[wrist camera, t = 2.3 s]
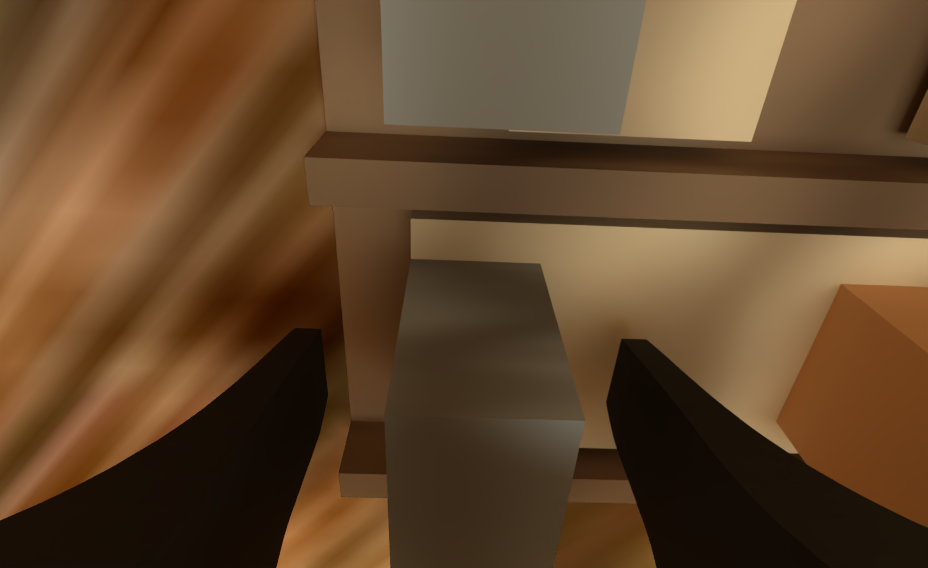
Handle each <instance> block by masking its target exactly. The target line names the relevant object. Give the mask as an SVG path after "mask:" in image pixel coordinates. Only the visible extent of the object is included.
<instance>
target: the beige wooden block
mask: <svg viewBox="0 0 928 568" xmlns="http://www.w3.org/2000/svg"><path fill="white" fill-rule="evenodd" d="M841 284H859V285H887V286H914V287H928V230H912V229H886V228H861V227H836V226H811V225H785V224H760V223H735V222H710V221H684V220H659V219H634V218H608V217H583V216H558V215H533V214H507V213H482V212H457V211H432V210H412V214H411V261H410V267H409V273H408V279H407V285H406V290H405V296H404V302H403V308H402V314H401V320H400V326H399V331H398V337H397V343H396V349H395V355H394V361H393V367H392V373H391V378H390V384H389V390H388V396H387V402H386V408H385V414H384V423H385V446H386V470H387V494H388V518H389V542H390V566H391V568H553V564H554V559H555V555H556V550H557V546H558V541H559V537H560V532H561V528H562V523H563V519H564V515H565V510H566V506H567V501H568V497H569V492H570V488H571V483H572V479H573V474H574V470H575V465H576V461H577V456H578V452H579V448H606V449H617V448H616V445H615V442H614V438H613V434H612V430H611V425H610V421H609V416H608V411H607V406H606V400H607V396H608V391H609V387H610V383H611V379H612V375H613V371H614V367H615V363H616V359H617V355H618V350H619V346H620V342H621V339H647V340H648V341H649V342H650V343H652V344H653V345H654V346H655V347H656V348H657V349H659V350H660V351H661V352H662V353H663V354H664V355H665V356H666V357H668V358H669V359H670V360H671V361H672V362H673V363H674V364H675V365H677V366H678V367H679V368H680V369H681V370H682V371H683V372H684V373H686V374H687V375H688V376H689V377H690V378H691V379H692V380H693V381H695V382H696V383H697V384H698V385H699V386H700V387H702V388H703V389H704V390H705V391H706V392H707V393H709V394H710V395H711V396H712V397H713V398H715V399H716V400H717V401H718V402H720V403H721V404H722V405H723V406H724V407H726V408H727V409H728V410H730V411H731V412H732V413H733V414H735V415H736V416H737V417H739V418H740V419H741V420H742V421H744V422H745V423H746V424H748V425H749V426H750V427H752V428H753V429H754V430H756V431H757V432H759V433H760V434H761V435H763V436H764V437H766V438H767V439H769V440H770V441H772V442H773V443H775V444H776V445H778V446H779V447H781V448H782V449H784V450H785V451H787V452H788V453H798V452H797V450H796V449H795V448H794V446H793V445H792V443H791V442H790V441H789V439H788V438H787V436H786V435H785V434H784V432H783V431H782V429H781V428H780V427H779V425H778V424H777V422H776V420H777V418H778V416H779V414H780V412H781V410H782V408H783V405H784V403H785V401H786V399H787V397H788V395H789V393H790V391H791V389H792V386H793V384H794V382H795V380H796V378H797V376H798V374H799V372H800V370H801V367H802V365H803V363H804V361H805V359H806V357H807V355H808V353H809V351H810V349H811V346H812V344H813V342H814V340H815V338H816V336H817V334H818V332H819V330H820V327H821V325H822V323H823V321H824V319H825V317H826V315H827V313H828V311H829V308H830V306H831V304H832V302H833V300H834V298H835V296H836V294H837V292H838V289H839V287H840V285H841Z"/></svg>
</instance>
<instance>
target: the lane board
mask: <svg viewBox="0 0 928 568" xmlns="http://www.w3.org/2000/svg"><path fill="white" fill-rule="evenodd" d="M315 4H316V16H317V27H318V39H319V51H320V62H321V74H322V86H323V97H324V109H325V121H326V132H325V133H324V134H323V136H322V137H321V138H320V139H319V140H318V141H317V143H316V144H315V145H314V146H313V147H312V148H311V149H310V151H309V152H308V153H307V154H306V155H305V156H304V163H305V172H306V181H307V191H308V200H309V206H331V207H333V214H334V226H335V237H336V249H337V261H338V272H339V284H340V296H341V307H342V319H343V331H344V342H345V354H346V366H347V377H348V389H349V401H350V412H351V424H350V428H349V433H348V437H347V441H346V445H345V449H344V453H343V457H342V461H341V466H340V470H339V482H340V491H341V497H367V498H388V494H387V470H386V446H385V423H384V414H385V408H386V402H387V396H388V390H389V384H390V378H391V373H392V367H393V361H394V355H395V349H396V343H397V337H398V331H399V326H400V320H401V314H402V308H403V302H404V296H405V290H406V285H407V279H408V273H409V267H410V261H411V214H412V210H432V211H457V212H482V213H507V214H533V215H558V216H583V217H608V218H634V219H659V220H684V221H710V222H735V223H760V224H785V225H811V226H836V227H861V228H886V229H912V230H928V0H315ZM790 454H791V455H793V456H794V457H796V458H797V459H799V460H801V461H802V462H804V460H803V459H802V457H801V456H800V455H799V453H790ZM804 463H805V462H804ZM805 464H806V463H805ZM567 502H587V503H631V504H637V503H636V500H635V497H634V495H633V492H632V489H631V487H630V484H629V481H628V478H627V476H626V473H625V470H624V467H623V465H622V462H621V459H620V456H619V453H618V450H617V449H606V448H579V452H578V456H577V461H576V465H575V470H574V474H573V479H572V483H571V488H570V492H569V497H568V501H567Z"/></svg>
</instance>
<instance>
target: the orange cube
mask: <svg viewBox="0 0 928 568" xmlns="http://www.w3.org/2000/svg"><path fill="white" fill-rule="evenodd" d="M776 422H777V424H778V425H779V427H780V428H781V429H782V431H783V432H784V434H785V435H786V436H787V438H788V439H789V441H790V442H791V443H792V445H793V446H794V448H795V449H796V450H797V452H798V453H799V455H800V456H801V457H802V459H803V460H804V462H805V463H806V464H807V465H809V466H810V467H812V468H814V469H816V470H817V471H819V472H821V473H822V474H824V475H826V476H828V477H829V478H831V479H833V480H834V481H836V482H838V483H840V484H841V485H843V486H845V487H847V488H849V489H851V490H852V491H854V492H856V493H858V494H860V495H862V496H864V497H865V498H867V499H869V500H871V501H873V502H875V503H877V504H879V505H881V506H883V507H885V508H887V509H889V510H891V511H893V512H895V513H897V514H899V515H901V516H903V517H905V518H907V519H910V520H912V521H914V522H916V523H918V524H921V525H923V526H925V527H927V528H928V287H914V286H887V285H859V284H841V285H840V287H839V289H838V292H837V294H836V296H835V298H834V300H833V302H832V304H831V306H830V308H829V311H828V313H827V315H826V317H825V319H824V321H823V323H822V325H821V327H820V330H819V332H818V334H817V336H816V338H815V340H814V342H813V344H812V346H811V349H810V351H809V353H808V355H807V357H806V359H805V361H804V363H803V365H802V367H801V370H800V372H799V374H798V376H797V378H796V380H795V382H794V384H793V386H792V389H791V391H790V393H789V395H788V397H787V399H786V401H785V403H784V405H783V408H782V410H781V412H780V414H779V416H778V418H777V420H776Z"/></svg>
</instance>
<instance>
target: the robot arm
mask: <svg viewBox="0 0 928 568" xmlns="http://www.w3.org/2000/svg"><path fill="white" fill-rule="evenodd" d="M327 397H328V390H327V381H326V372H325V363H324V355H323V346H322V337H321V329H303V328H295V329H293V330H292V331H291V332H290V333H289V334H288V335H287V336H286V337H284V338H283V339H282V340H281V341H280V342H279V343H278V344H277V345H276V346H275V347H274V348H273V349H272V350H271V351H270V352H269V353H267V354H266V355H265V356H264V357H263V358H262V359H261V360H260V361H259V362H258V363H257V364H256V365H254V366H253V367H252V368H251V369H250V370H249V371H248V372H247V373H245V374H244V375H243V376H242V377H241V378H240V379H239V380H238V381H237V382H235V383H234V384H233V385H232V386H231V387H229V388H228V389H227V390H226V391H224V392H223V393H222V394H221V395H220V396H218V397H217V398H216V399H215V400H213V401H212V402H211V403H210V404H208V405H207V406H206V407H205V408H203V409H202V410H201V411H199V412H198V413H197V414H195V415H194V416H192V417H191V418H190V419H188V420H187V421H186V422H184V423H183V424H181V425H180V426H178V427H177V428H175V429H174V430H172V431H171V432H169V433H168V434H166V435H165V436H163V437H162V438H160V439H159V440H157V441H155V442H154V443H152V444H150V445H149V446H147V447H145V448H144V449H142V450H140V451H139V452H137V453H135V454H134V455H132V456H130V457H128V458H127V459H125V460H123V461H122V462H120V463H118V464H117V465H115V466H113V467H111V468H110V469H108V470H106V471H104V472H102V473H100V474H98V475H96V476H94V477H93V478H91V479H89V480H87V481H85V482H83V483H81V484H79V485H77V486H75V487H73V488H71V489H69V490H67V491H65V492H63V493H61V494H59V495H57V496H55V497H52V498H50V499H48V500H46V501H44V502H42V503H40V504H37V505H35V506H33V507H30V508H28V509H26V510H23V511H21V512H19V513H17V514H14V515H12V516H10V517H7V518H5V519H3V520H0V568H276V567H277V563H278V559H279V555H280V551H281V547H282V543H283V539H284V535H285V532H286V529H287V525H288V522H289V519H290V516H291V513H292V510H293V507H294V505H295V502H296V499H297V496H298V493H299V491H300V488H301V485H302V482H303V479H304V477H305V474H306V471H307V468H308V465H309V463H310V460H311V457H312V454H313V451H314V448H315V445H316V443H317V440H318V437H319V434H320V430H321V425H322V421H323V417H324V412H325V407H326V402H327ZM606 406H607V411H608V416H609V421H610V425H611V430H612V434H613V438H614V442H615V445H616V448H617V450H618V453H619V456H620V459H621V462H622V465H623V467H624V470H625V473H626V476H627V478H628V481H629V484H630V487H631V489H632V492H633V495H634V497H635V500H636V503H637V506H638V508H639V511H640V514H641V517H642V519H643V522H644V525H645V528H646V531H647V534H648V537H649V540H650V544H651V547H652V551H653V555H654V559H655V563H656V567H657V568H928V528H927V527H925V526H923V525H921V524H918V523H916V522H914V521H912V520H910V519H907V518H905V517H903V516H901V515H899V514H897V513H895V512H893V511H891V510H889V509H887V508H885V507H883V506H881V505H879V504H877V503H875V502H873V501H871V500H869V499H867V498H865V497H864V496H862V495H860V494H858V493H856V492H854V491H852V490H851V489H849V488H847V487H845V486H843V485H841V484H840V483H838V482H836V481H834V480H833V479H831V478H829V477H828V476H826V475H824V474H822V473H821V472H819V471H817V470H816V469H814V468H812V467H810V466H809V465H807V464H805V463H804V462H802V461H801V460H799V459H797V458H796V457H794V456H793V455H791V454H790V453H788V452H787V451H785V450H784V449H782V448H781V447H779V446H778V445H776V444H775V443H773V442H772V441H770V440H769V439H767V438H766V437H764V436H763V435H761V434H760V433H759V432H757V431H756V430H754V429H753V428H752V427H750V426H749V425H748V424H746V423H745V422H744V421H742V420H741V419H740V418H739V417H737V416H736V415H735V414H733V413H732V412H731V411H730V410H728V409H727V408H726V407H724V406H723V405H722V404H721V403H720V402H718V401H717V400H716V399H715V398H713V397H712V396H711V395H710V394H709V393H707V392H706V391H705V390H704V389H703V388H702V387H700V386H699V385H698V384H697V383H696V382H695V381H693V380H692V379H691V378H690V377H689V376H688V375H687V374H686V373H684V372H683V371H682V370H681V369H680V368H679V367H678V366H677V365H675V364H674V363H673V362H672V361H671V360H670V359H669V358H668V357H666V356H665V355H664V354H663V353H662V352H661V351H660V350H659V349H657V348H656V347H655V346H654V345H653V344H652V343H650V342H649V341H648V340H647V339H621V342H620V346H619V350H618V355H617V359H616V363H615V367H614V371H613V375H612V379H611V383H610V387H609V391H608V396H607V400H606Z"/></svg>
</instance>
